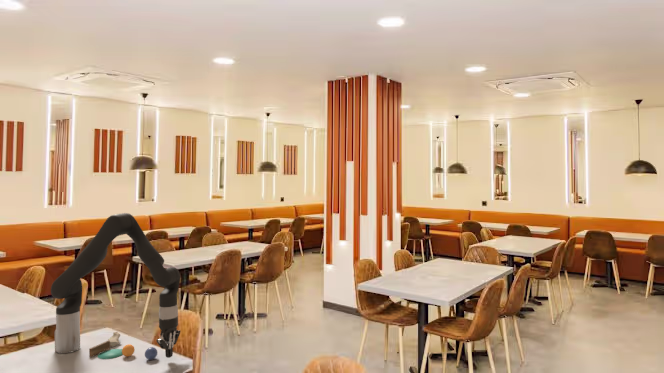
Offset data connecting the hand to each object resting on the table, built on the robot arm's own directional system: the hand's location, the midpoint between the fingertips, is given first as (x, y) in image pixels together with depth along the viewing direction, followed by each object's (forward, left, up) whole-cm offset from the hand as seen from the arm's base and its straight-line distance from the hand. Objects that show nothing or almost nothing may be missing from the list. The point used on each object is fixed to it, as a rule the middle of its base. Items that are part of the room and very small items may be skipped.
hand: (169, 356), depth 180 cm
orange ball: (-21, 0, 0) cm, 21 cm away
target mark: (-30, 0, -2) cm, 30 cm away
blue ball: (-9, 0, 0) cm, 9 cm away
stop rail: (-37, 0, -2) cm, 37 cm away
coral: (-39, +11, -3) cm, 41 cm away
